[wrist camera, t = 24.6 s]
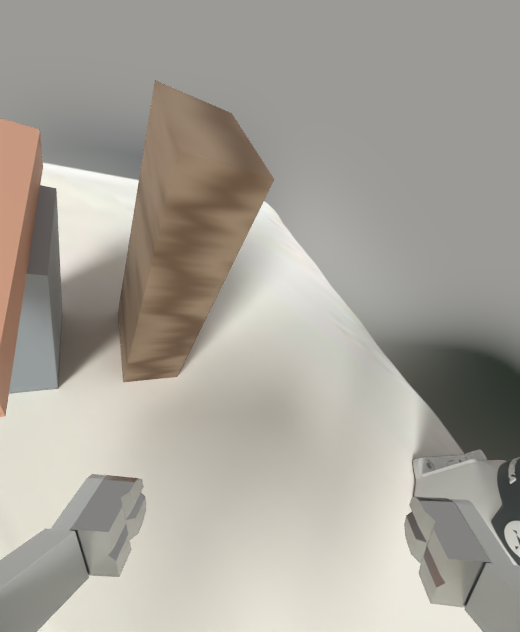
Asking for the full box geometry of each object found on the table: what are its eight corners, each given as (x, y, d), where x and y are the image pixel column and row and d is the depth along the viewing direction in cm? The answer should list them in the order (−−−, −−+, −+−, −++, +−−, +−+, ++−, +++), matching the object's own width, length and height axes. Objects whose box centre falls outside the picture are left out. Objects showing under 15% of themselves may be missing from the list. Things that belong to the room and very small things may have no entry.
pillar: (165, 313, 41) (231, 113, 23) (177, 376, 35) (274, 179, 18) (118, 312, 37) (154, 80, 20) (123, 382, 32) (179, 148, 15)
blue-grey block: (62, 311, 34) (56, 188, 24) (57, 388, 29) (47, 275, 18) (6, 310, 31) (-28, 171, 21) (-10, 395, 26) (-67, 267, 16)
